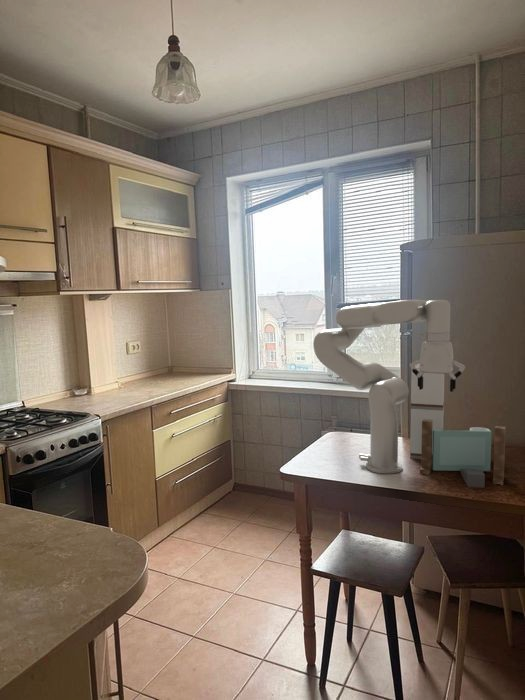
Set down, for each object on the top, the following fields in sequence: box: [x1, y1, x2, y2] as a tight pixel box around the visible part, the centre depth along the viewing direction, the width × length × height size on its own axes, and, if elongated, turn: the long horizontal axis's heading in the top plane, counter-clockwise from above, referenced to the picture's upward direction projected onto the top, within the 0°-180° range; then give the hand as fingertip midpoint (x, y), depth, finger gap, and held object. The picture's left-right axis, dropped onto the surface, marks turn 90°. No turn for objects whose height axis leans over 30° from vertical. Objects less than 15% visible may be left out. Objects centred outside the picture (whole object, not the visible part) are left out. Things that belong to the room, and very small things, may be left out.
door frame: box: [419, 419, 506, 486], centre depth 169 cm, size 26×8×18 cm, turn 62°
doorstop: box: [459, 469, 486, 488], centre depth 166 cm, size 5×14×4 cm, turn 168°
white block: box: [409, 363, 445, 460], centre depth 191 cm, size 11×11×35 cm
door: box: [431, 429, 492, 472], centre depth 174 cm, size 19×1×14 cm, turn 86°
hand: (436, 390), depth 164 cm, fingers open, 9 cm apart
